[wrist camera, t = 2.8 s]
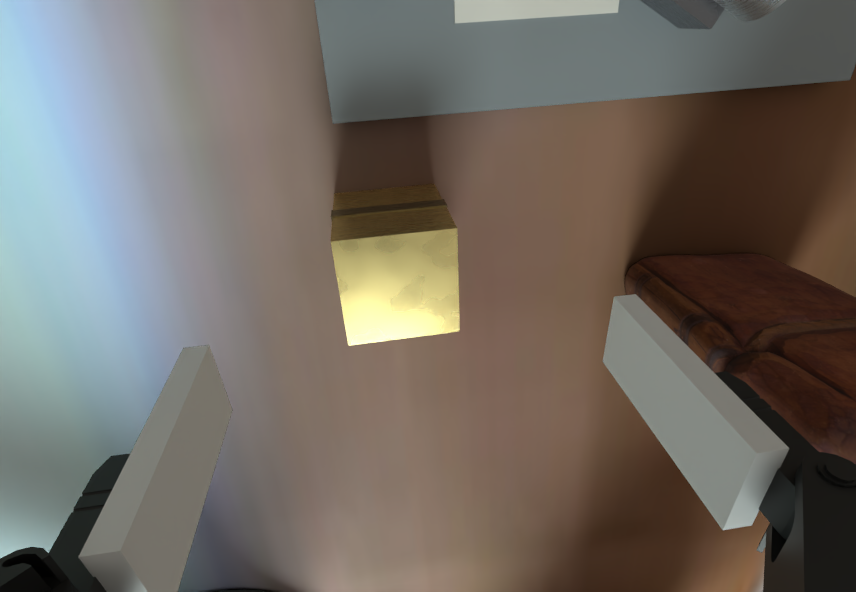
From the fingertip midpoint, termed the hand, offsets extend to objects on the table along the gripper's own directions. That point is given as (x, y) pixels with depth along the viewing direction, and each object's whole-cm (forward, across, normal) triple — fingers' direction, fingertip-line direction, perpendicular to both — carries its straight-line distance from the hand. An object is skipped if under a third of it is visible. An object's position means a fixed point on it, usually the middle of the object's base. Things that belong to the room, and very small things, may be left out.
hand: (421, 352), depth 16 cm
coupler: (+11, 0, 0) cm, 11 cm away
